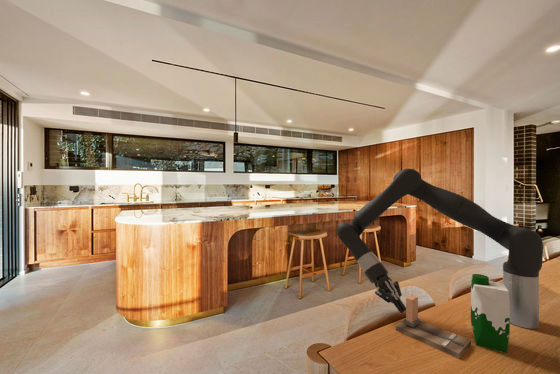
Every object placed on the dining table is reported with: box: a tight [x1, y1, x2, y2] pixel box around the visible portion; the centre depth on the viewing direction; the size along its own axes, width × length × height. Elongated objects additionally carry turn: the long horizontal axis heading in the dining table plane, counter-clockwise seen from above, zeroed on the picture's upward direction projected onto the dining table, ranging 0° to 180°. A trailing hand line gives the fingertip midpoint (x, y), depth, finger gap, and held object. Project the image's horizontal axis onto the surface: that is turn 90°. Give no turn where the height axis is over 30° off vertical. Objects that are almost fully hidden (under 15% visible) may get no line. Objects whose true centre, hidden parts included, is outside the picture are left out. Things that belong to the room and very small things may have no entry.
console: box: [395, 319, 472, 359], centre depth 81 cm, size 18×10×2 cm, turn 37°
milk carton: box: [470, 273, 511, 354], centre depth 78 cm, size 9×9×20 cm
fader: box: [403, 294, 421, 327], centre depth 85 cm, size 3×5×8 cm, turn 127°
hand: (404, 311), depth 88 cm, fingers closed
